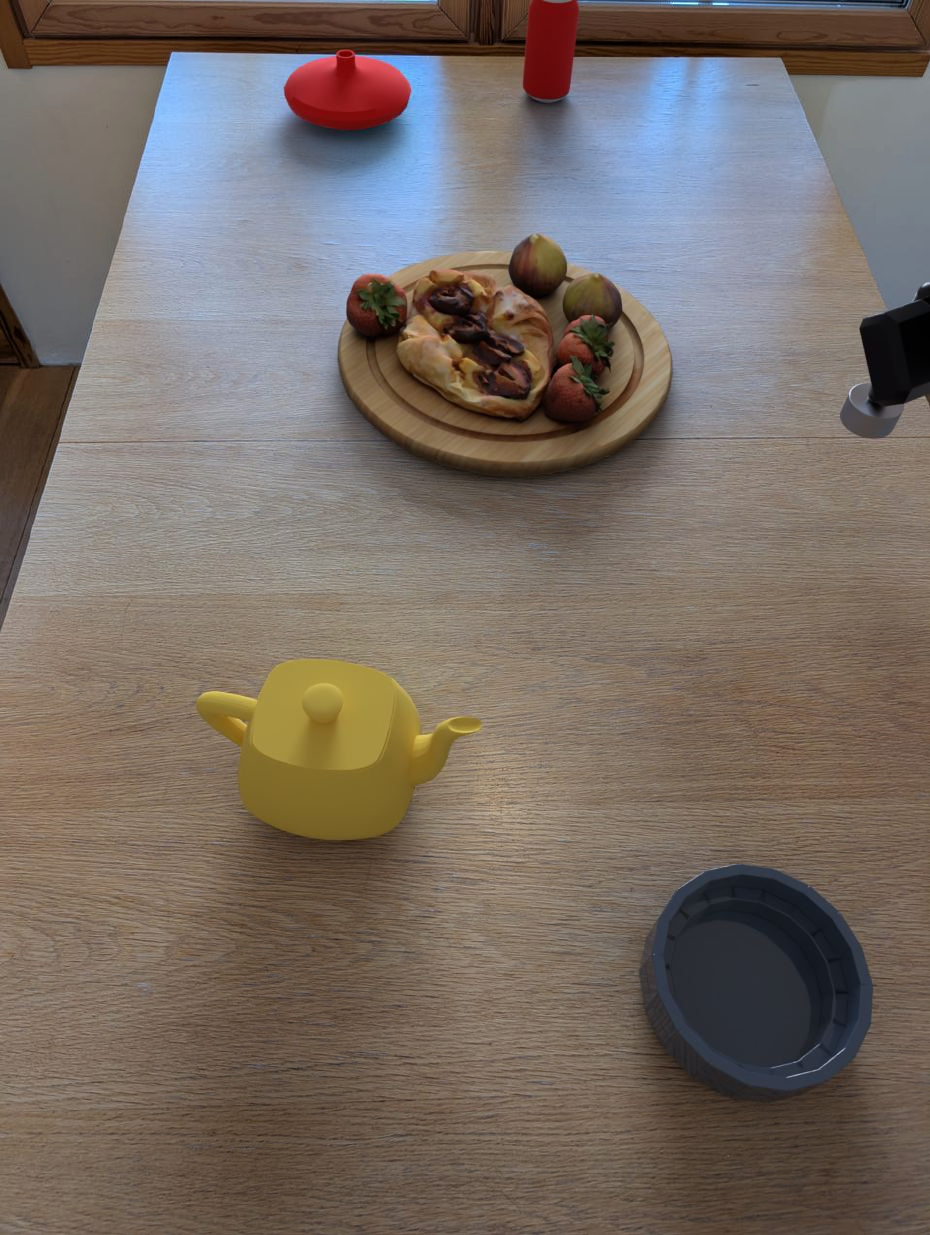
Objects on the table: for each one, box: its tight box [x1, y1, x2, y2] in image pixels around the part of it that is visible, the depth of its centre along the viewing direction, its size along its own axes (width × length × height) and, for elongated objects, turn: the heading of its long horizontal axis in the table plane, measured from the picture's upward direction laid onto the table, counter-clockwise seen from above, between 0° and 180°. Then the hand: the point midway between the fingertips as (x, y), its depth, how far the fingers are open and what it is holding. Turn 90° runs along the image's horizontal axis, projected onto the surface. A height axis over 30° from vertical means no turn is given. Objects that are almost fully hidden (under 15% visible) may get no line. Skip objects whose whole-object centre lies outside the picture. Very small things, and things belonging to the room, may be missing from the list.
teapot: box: [195, 658, 483, 841], centre depth 60 cm, size 18×11×11 cm, turn 82°
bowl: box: [638, 863, 874, 1104], centre depth 55 cm, size 12×13×5 cm
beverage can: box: [522, 0, 580, 104], centre depth 118 cm, size 6×6×12 cm
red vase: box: [283, 49, 412, 131], centre depth 115 cm, size 16×16×7 cm
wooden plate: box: [337, 233, 674, 477], centre depth 88 cm, size 32×32×8 cm
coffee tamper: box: [839, 281, 930, 440], centre depth 73 cm, size 4×4×13 cm
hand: (886, 346), depth 73 cm, fingers closed on coffee tamper, 2 cm apart
